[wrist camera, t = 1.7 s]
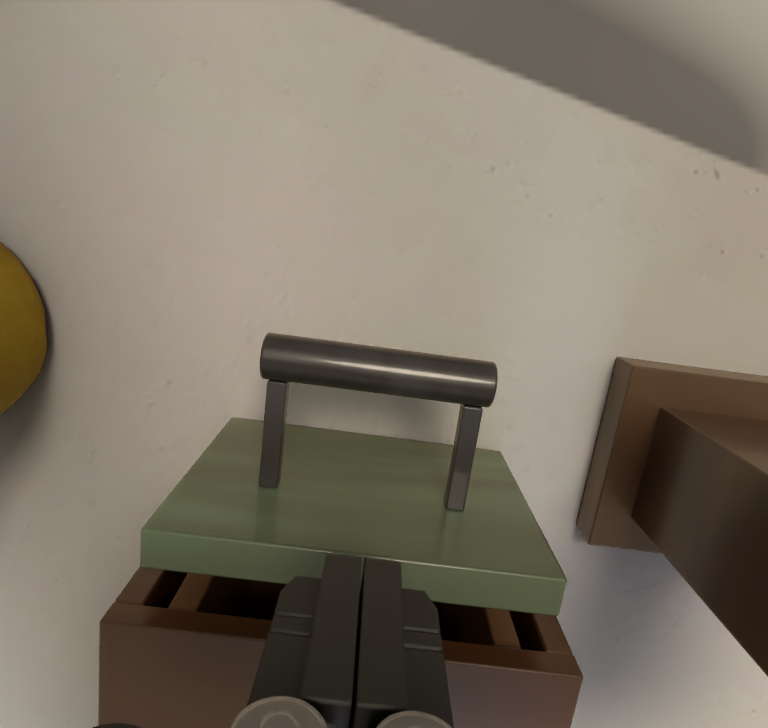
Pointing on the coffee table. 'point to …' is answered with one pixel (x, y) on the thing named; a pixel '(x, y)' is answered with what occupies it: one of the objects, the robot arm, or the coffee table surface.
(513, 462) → the coffee table surface
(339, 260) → the coffee table surface
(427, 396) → the drawer
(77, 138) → the coffee table surface
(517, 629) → the cabinet
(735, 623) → the stand
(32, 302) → the mug
